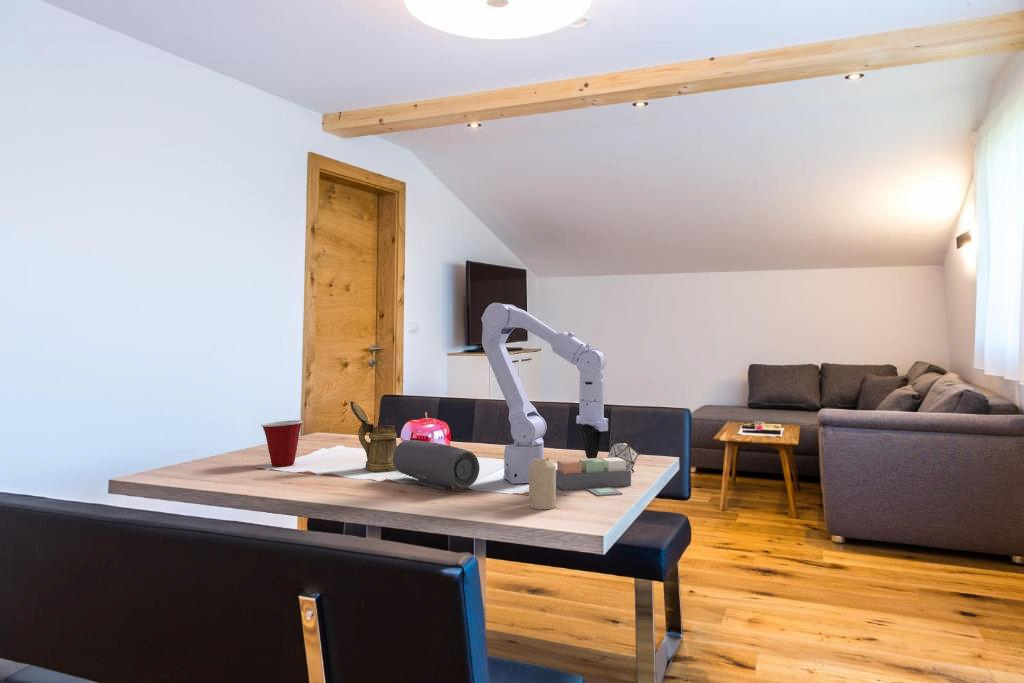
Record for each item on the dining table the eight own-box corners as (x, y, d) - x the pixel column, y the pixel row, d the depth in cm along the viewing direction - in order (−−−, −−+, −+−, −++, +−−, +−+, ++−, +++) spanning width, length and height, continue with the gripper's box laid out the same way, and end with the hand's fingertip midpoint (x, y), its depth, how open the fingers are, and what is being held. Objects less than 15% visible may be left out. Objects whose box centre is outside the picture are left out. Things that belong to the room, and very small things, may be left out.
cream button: (608, 474, 157) (608, 461, 157) (600, 470, 162) (601, 458, 162) (625, 473, 159) (625, 460, 159) (617, 469, 163) (617, 457, 163)
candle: (554, 503, 142) (554, 455, 142) (557, 509, 136) (557, 460, 136) (528, 503, 141) (528, 456, 141) (529, 510, 136) (529, 460, 136)
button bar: (561, 490, 153) (561, 475, 153) (552, 484, 159) (552, 469, 159) (630, 485, 158) (630, 470, 158) (619, 480, 164) (619, 465, 164)
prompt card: (597, 496, 148) (597, 494, 148) (587, 490, 153) (587, 488, 153) (622, 494, 149) (622, 492, 149) (611, 488, 155) (611, 486, 155)
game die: (629, 487, 172) (645, 460, 167) (598, 475, 172) (612, 448, 167) (631, 465, 180) (646, 438, 174) (601, 453, 180) (615, 426, 174)
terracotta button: (563, 477, 154) (563, 464, 154) (557, 473, 158) (557, 460, 158) (581, 475, 155) (581, 463, 155) (574, 472, 160) (574, 459, 160)
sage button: (586, 475, 156) (586, 462, 156) (579, 471, 160) (579, 459, 160) (603, 474, 157) (603, 461, 157) (596, 470, 161) (596, 458, 161)
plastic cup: (281, 460, 190) (280, 417, 190) (311, 462, 186) (311, 419, 186) (252, 466, 180) (252, 422, 180) (283, 470, 176) (283, 424, 176)
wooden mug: (356, 464, 184) (355, 399, 183) (404, 465, 182) (404, 399, 182) (344, 471, 175) (344, 402, 175) (395, 472, 173) (395, 402, 173)
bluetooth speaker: (481, 490, 154) (481, 446, 154) (450, 496, 147) (450, 451, 147) (421, 475, 170) (421, 435, 170) (391, 480, 164) (391, 439, 163)
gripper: (620, 402, 152) (620, 462, 153) (595, 397, 166) (595, 451, 167) (591, 403, 150) (591, 464, 151) (568, 397, 164) (568, 453, 165)
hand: (591, 457), depth 158 cm, fingers closed
